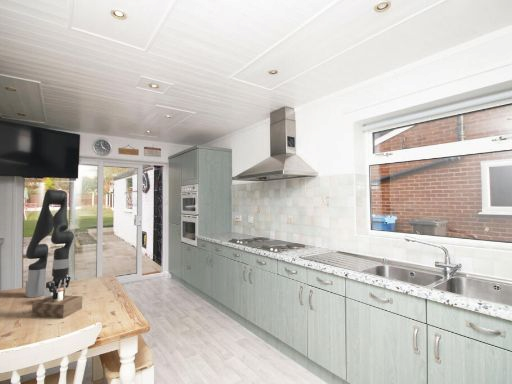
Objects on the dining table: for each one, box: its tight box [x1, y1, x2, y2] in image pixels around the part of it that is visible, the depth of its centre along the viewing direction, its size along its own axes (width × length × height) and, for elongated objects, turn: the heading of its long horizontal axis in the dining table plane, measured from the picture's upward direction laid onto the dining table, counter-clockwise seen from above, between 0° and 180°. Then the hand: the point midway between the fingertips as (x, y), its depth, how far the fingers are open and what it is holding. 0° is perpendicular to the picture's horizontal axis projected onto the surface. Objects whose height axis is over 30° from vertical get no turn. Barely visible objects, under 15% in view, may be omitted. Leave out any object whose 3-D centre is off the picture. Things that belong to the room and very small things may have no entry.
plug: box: [54, 286, 64, 301], centre depth 153 cm, size 4×4×13 cm
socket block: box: [31, 294, 84, 319], centre depth 153 cm, size 18×14×7 cm
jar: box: [43, 280, 57, 299], centre depth 169 cm, size 9×8×12 cm
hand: (58, 297), depth 153 cm, fingers closed on plug, 4 cm apart
